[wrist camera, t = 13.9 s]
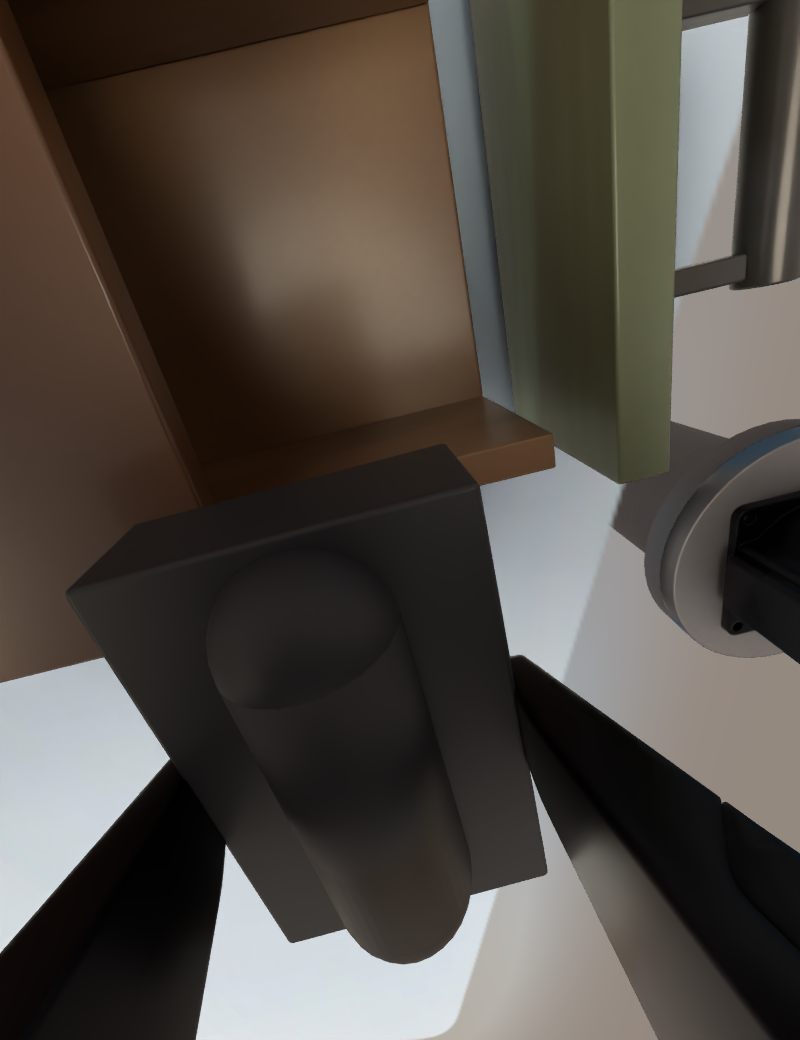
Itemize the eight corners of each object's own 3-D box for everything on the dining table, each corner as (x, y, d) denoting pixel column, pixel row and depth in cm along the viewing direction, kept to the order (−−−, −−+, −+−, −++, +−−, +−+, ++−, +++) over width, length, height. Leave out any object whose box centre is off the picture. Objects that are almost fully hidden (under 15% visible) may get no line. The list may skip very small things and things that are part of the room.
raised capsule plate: (132, 523, 7) (-18, 664, 4) (445, 440, 7) (516, 523, 4) (299, 836, 10) (281, 1038, 7) (513, 778, 10) (579, 958, 7)
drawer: (689, -114, 11) (1091, -622, 5) (674, 385, 17) (870, 423, 10) (-65, 59, 11) (-570, -264, 5) (153, 512, 16) (35, 629, 10)
